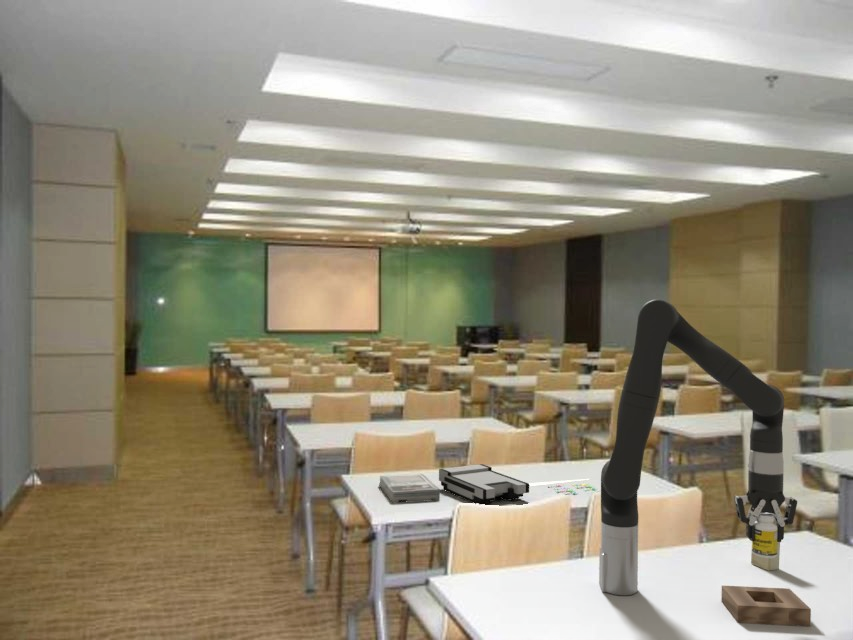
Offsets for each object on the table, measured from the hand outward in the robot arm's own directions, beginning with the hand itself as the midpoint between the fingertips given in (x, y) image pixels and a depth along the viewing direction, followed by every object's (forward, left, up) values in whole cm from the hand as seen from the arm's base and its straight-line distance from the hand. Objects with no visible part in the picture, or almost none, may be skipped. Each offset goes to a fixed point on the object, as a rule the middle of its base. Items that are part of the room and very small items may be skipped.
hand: (764, 540), depth 169 cm
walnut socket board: (0, 0, -17) cm, 17 cm away
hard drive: (-98, +101, -18) cm, 142 cm away
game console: (-69, +101, -18) cm, 124 cm away
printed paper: (-32, +114, -18) cm, 120 cm away
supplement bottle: (0, 0, -4) cm, 4 cm away
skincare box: (+12, +33, -18) cm, 39 cm away
